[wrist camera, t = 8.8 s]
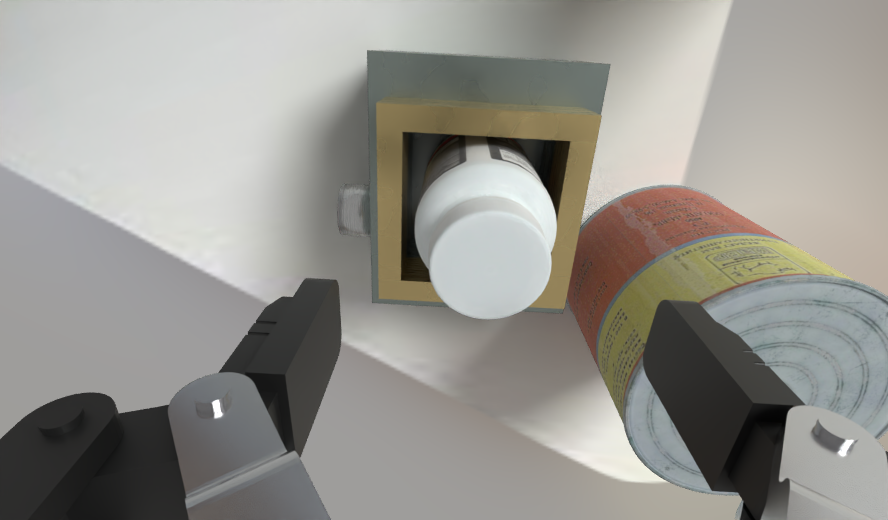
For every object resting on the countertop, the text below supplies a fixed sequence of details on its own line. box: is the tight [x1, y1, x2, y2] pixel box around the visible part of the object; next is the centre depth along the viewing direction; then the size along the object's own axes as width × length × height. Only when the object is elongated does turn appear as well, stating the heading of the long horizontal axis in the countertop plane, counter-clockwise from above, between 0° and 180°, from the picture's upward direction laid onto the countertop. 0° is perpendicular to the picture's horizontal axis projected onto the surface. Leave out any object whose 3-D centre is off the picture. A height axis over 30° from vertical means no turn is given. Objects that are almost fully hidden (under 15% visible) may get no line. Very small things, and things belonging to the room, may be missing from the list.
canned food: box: [566, 185, 888, 495], centre depth 23 cm, size 11×11×12 cm
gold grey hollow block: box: [337, 50, 610, 313], centre depth 22 cm, size 12×12×8 cm
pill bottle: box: [415, 134, 557, 320], centre depth 19 cm, size 5×5×10 cm
